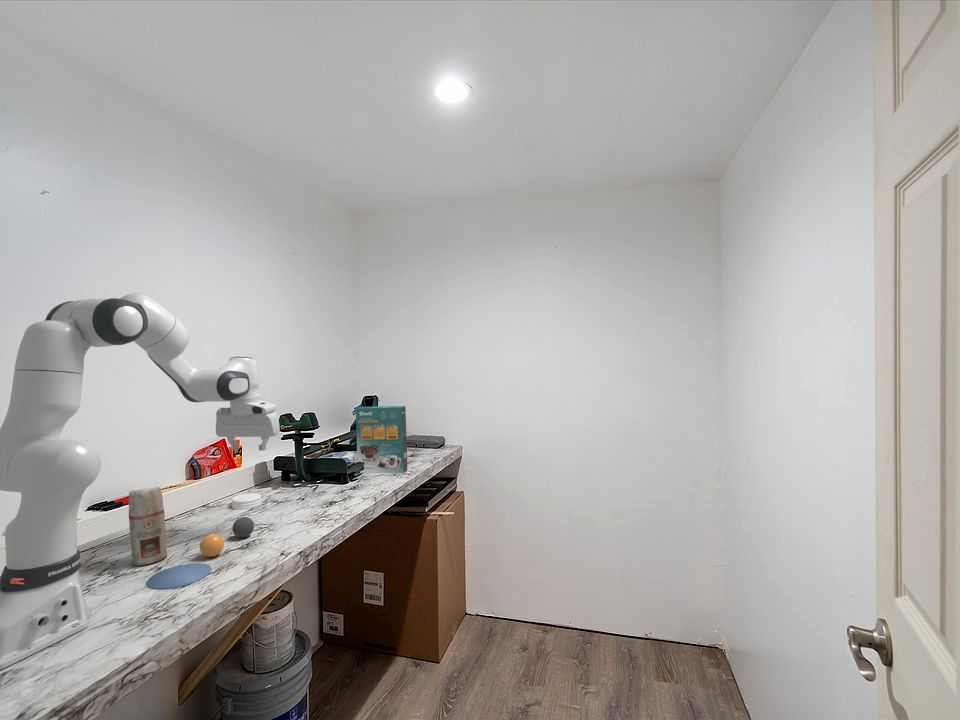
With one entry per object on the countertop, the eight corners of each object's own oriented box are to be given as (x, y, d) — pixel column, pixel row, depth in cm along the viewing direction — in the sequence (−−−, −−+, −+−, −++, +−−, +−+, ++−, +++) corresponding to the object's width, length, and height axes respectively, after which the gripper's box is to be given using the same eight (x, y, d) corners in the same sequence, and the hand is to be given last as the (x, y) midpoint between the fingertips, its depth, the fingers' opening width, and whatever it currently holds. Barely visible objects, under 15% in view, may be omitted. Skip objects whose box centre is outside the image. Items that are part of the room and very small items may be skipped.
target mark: (184, 590, 117) (184, 589, 117) (132, 587, 119) (132, 587, 119) (223, 564, 131) (223, 564, 131) (176, 563, 133) (175, 562, 133)
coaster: (242, 511, 176) (242, 502, 176) (226, 507, 181) (225, 498, 181) (267, 504, 185) (266, 494, 185) (250, 500, 190) (250, 491, 190)
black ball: (246, 541, 147) (245, 521, 147) (228, 540, 148) (227, 520, 148) (258, 533, 153) (257, 514, 153) (240, 533, 154) (240, 514, 154)
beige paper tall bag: (125, 568, 130) (121, 493, 130) (137, 556, 138) (134, 485, 138) (161, 564, 132) (158, 490, 132) (171, 552, 140) (168, 482, 140)
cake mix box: (407, 470, 231) (405, 406, 230) (403, 473, 225) (401, 407, 224) (362, 469, 234) (360, 406, 233) (357, 473, 228) (355, 408, 227)
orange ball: (214, 561, 133) (214, 539, 133) (194, 560, 134) (193, 538, 134) (229, 552, 139) (228, 530, 139) (209, 551, 140) (209, 530, 140)
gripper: (209, 409, 155) (212, 452, 156) (269, 408, 152) (272, 452, 153) (222, 406, 161) (225, 447, 162) (280, 405, 158) (283, 447, 159)
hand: (248, 450), depth 158 cm, fingers open, 8 cm apart
